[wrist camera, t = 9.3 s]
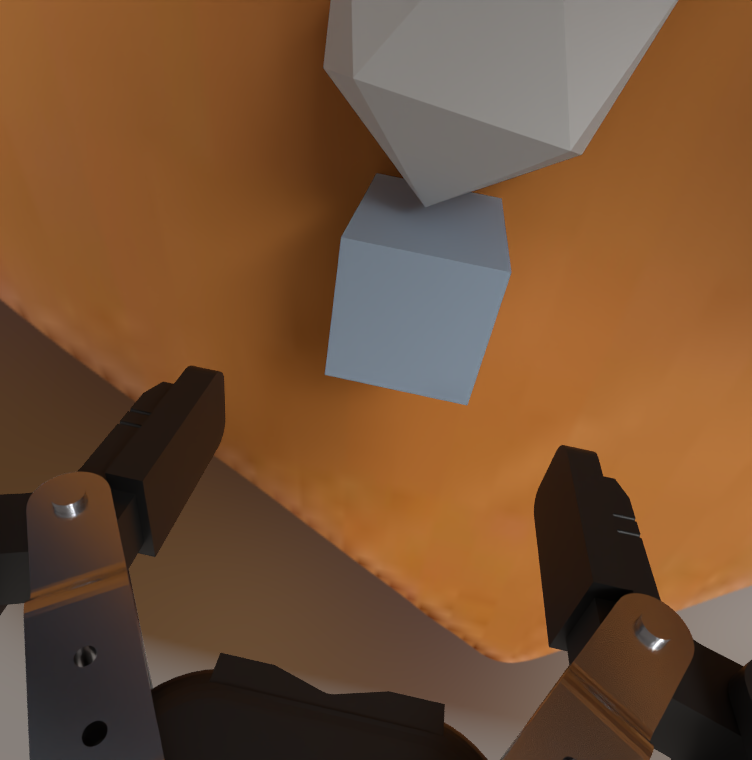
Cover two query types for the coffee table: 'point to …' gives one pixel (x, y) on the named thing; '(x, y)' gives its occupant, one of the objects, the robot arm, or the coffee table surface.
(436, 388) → the block
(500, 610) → the coffee table surface
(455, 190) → the die
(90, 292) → the coffee table surface
